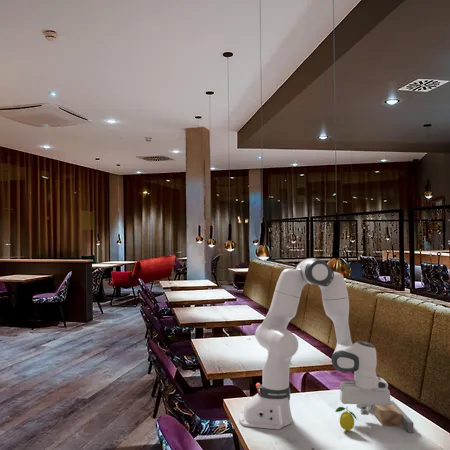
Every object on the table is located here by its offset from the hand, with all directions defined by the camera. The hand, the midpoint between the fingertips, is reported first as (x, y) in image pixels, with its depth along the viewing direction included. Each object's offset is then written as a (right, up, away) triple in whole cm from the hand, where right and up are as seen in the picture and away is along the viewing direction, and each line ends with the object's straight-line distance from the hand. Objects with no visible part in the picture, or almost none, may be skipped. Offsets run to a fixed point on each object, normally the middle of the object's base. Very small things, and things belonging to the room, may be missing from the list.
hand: (364, 414), depth 185 cm
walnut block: (+10, -3, 0) cm, 10 cm away
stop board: (+15, -3, 0) cm, 15 cm away
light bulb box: (+5, -3, +18) cm, 19 cm away
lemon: (-10, -3, -9) cm, 14 cm away
